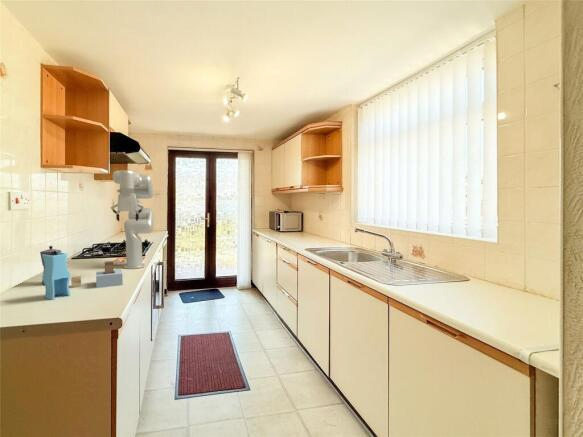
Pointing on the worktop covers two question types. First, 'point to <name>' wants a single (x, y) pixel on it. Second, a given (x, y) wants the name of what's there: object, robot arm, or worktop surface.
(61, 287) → the blue hollow-base tower
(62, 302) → the worktop surface
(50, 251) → the moka pot
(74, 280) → the oak peg short
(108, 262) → the walnut peg long
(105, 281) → the socket block
